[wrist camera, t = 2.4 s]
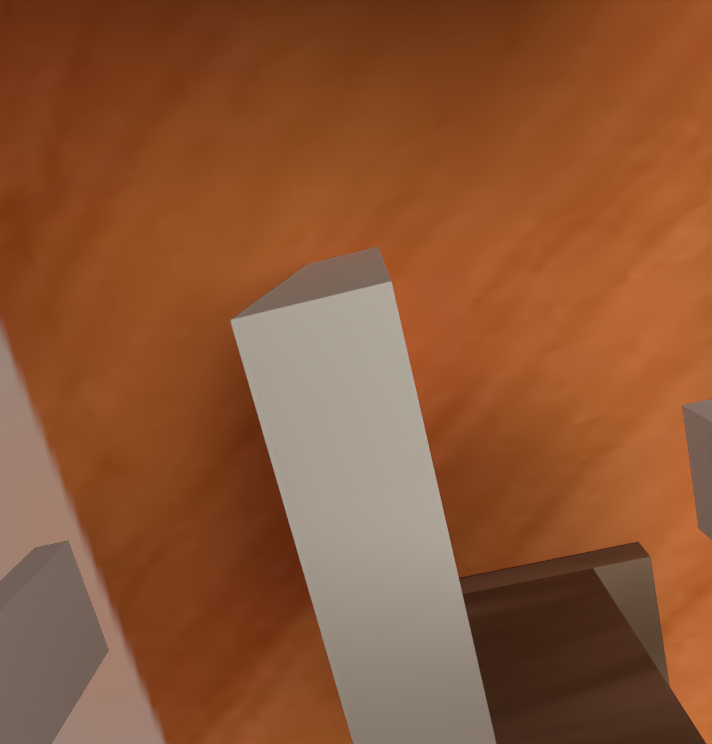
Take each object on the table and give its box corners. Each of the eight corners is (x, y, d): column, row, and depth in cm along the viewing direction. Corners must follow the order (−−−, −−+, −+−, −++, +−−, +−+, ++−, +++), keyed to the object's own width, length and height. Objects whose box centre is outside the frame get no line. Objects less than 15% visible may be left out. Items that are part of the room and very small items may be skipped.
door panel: (304, 264, 21) (223, 321, 9) (378, 246, 21) (391, 281, 9) (373, 532, 23) (379, 853, 11) (440, 518, 23) (515, 829, 11)
